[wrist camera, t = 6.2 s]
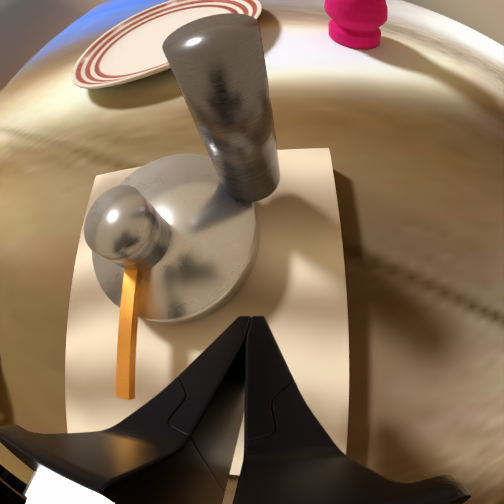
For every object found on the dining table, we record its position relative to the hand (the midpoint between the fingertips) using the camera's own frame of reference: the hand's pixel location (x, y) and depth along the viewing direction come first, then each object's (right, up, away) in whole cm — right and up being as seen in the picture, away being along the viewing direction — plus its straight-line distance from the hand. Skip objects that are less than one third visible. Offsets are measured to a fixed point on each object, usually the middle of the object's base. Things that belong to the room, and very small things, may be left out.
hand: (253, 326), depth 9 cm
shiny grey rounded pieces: (-4, +2, +7) cm, 9 cm away
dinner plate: (-12, +32, +22) cm, 40 cm away
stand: (-4, -1, +9) cm, 9 cm away
